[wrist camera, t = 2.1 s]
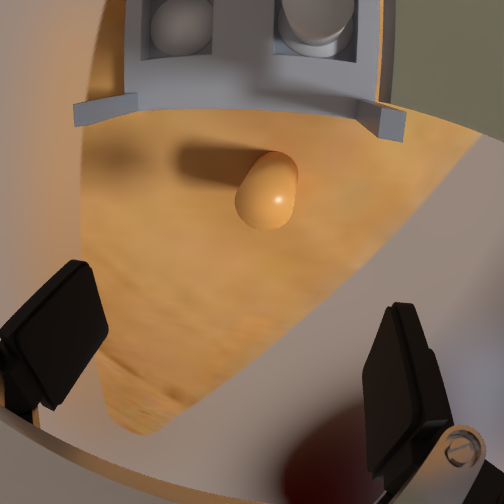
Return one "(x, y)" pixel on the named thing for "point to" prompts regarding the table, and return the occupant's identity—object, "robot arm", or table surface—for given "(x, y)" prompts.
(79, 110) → the housing
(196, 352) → the table surface
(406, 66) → the lid
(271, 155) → the tan capsule cylinder
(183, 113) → the table surface
